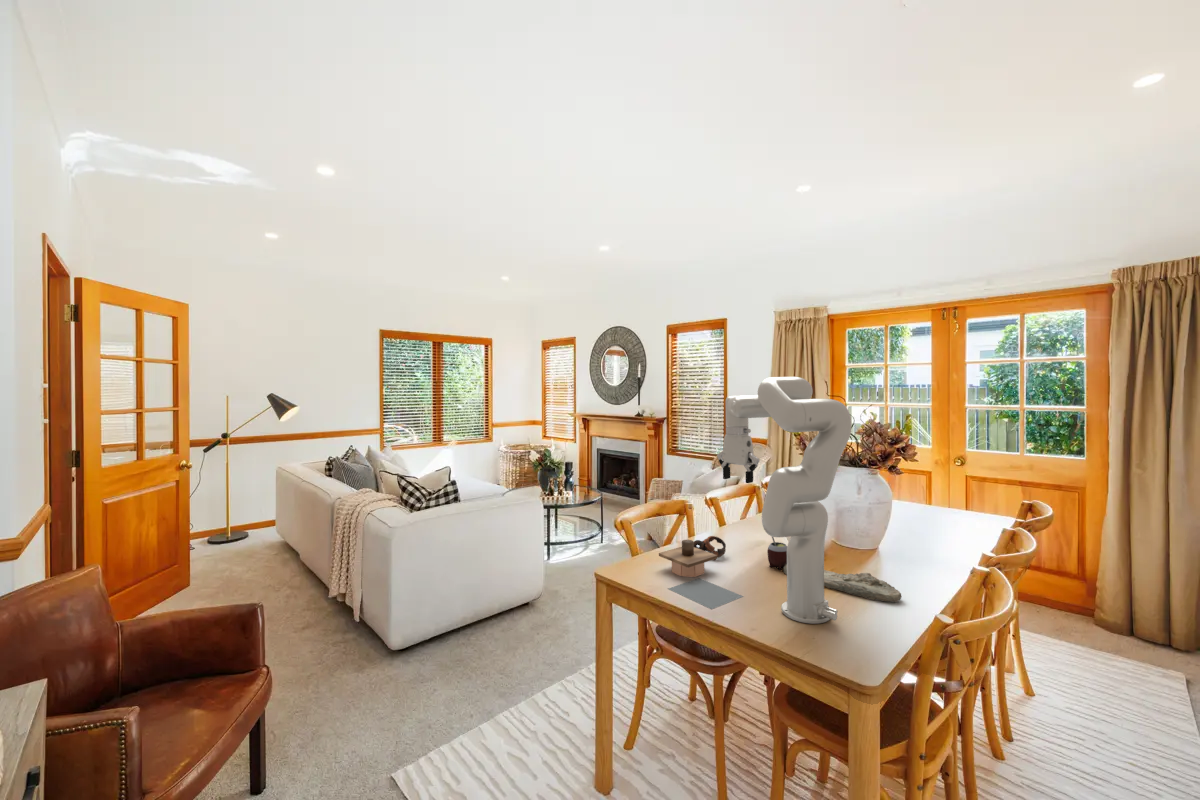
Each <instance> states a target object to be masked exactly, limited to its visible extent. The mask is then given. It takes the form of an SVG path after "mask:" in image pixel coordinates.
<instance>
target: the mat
mask: <svg viewBox="0 0 1200 800" xmlns="http://www.w3.org/2000/svg"><path fill="white" fill-rule="evenodd" d="M667 590H669V591H671V592H674V593H676V594H678V595H679V596H682V597H684V598H686V599H688V600H691V601H692V602H695V603H697V604H699V605H702V606H703V607H705V608H708V609H709V610H713V609H716V608H719V607H721V606H723V605H726V604H729V603H731V602H734V601H736V600H738V599H741V598H743V597H744V596H743V595H742V594H739V593H737V592H735V591H732V590H730V589H727V588H724V587H723V586H720V585H717V584H716V583H715V584H714V583H712V582H710V581H707V580H706V579H702V578H701V577H698V578H695V579H692V580H689V581H685V582H684V583H680V584H677V585H675V586H674V585H673V586H671V587H669V588H667Z"/></svg>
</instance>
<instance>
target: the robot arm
mask: <svg viewBox="0 0 1200 800" xmlns="http://www.w3.org/2000/svg"><path fill="white" fill-rule="evenodd" d="M813 393H814V391H813V387H812V385H811V383H810V382H809V381H808V380H807V379H805V378H803V377H799V376H770V377H767V378H765V379H764V380H762V381H761V382H760V383H759V386H758V388H757V394H755V395H754V394H753V395H752V394H750V395H749V394H748V395H747V394H746V395H729V396H727V397H726V399H725V434H724V437H723V443H722V444H723V449H722V451H721V452H719V453H717V454H716V456H717V459H718V463H719V464H720V467H721V468H722V479H723V480H728V479H731V466H730V465H736V466H744V468H745V470H746V471H745V484H752V483H753V482H754V471H755V470H756V468H757V467H758V466H759V463H760V461H761V460H760V458H759V457H757V456H756V455H755V454H754V446H753V440H752V436H751V435H749V434H750V433H751V431H752V430H751V428H749V419H752V418H753V419H756V418H759V419H760V418H761V419H763V418H770V417H771V418H772V419H773V421H774V423H776V424H777V425H778V427H780V428H781V430H783V431H785V432H788V433H807V432H808V433H809V432H818V433H817V435H816V436H814V437H813V439H811V440H810V442H809V443H808V444H807V446H806V448H805V449H804V452H803V457H802V461H801V463H800V464H798V465H796V466H795V465H793V466H784V467H780V468H777V469H775V471H774V472H773V473H772V474H771V476H770V477H769V481H768V483H767V484H768V485H767V489H766V493H765V498H764V502H763V505H762V510H761V525H762V527H763V530H764V531H765V533H766V534H767V535H768V536H770V537H771V538H772V537H773V538H789V537H790V538H789V540H788V543H787V545H786V546H787V574H786V594H787V595H786V598H787V599H786V600H787V601H784V602H783V603H781V606H780V607H781V609H780V610H781V612H782V614H783V615H785V617H787V618H788V619H790V620H792V621H796V622H799V623H805V624H813V625H815V624H816V625H817V624H823V623H824V624H825V623H826V622H829V621H830V620H832V621H835V622H836V621H837V619H838V609H835V608H832V607H830V605H829V600H827V599H825V587H824V570H825V541H826V540H825V539H826V533H827V529H828V525H829V524H828V523H829V515H828V511H827V508H826V507H825V506H824V505H823V503H822V502H820V501H824V500H825V499H827V498H828V497H829V495H830V493H831V490H832V487H833V483H834V481H835V478H836V474H837V471H838V467H839V463H840V460H841V457H842V455H843V452H844V451H845V449H846V446H847V444H848V442H849V439H850V437H851V432H852V426H853V425H852V418H851V413H850V411H849V409H848V407H847V406H846V405H845V404H844V403H842V402H841V401H839V400H836V399H833V398H832V399H831V398H812V396H813Z"/></svg>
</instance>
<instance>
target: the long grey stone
mask: <svg viewBox="0 0 1200 800" xmlns="http://www.w3.org/2000/svg"><path fill="white" fill-rule="evenodd" d="M782 571H783V573H784V575H787V564H785V566H784V567H783V568H782ZM824 586H825V587H824V588H828V589H830V588H831V590H836V591H841V592H844V593H847V594H850V595H853V596H859V597H862V598H866V599H868V600H872V601H876V600H877V601H881V602H882V601H883V602H893V603H897V602H899V601H900V600H901V599H902V596H903V595H902V593H901V592H900V591H899V590H898V589H896V588H895V586H892V585H891V584H890V583H888V582H887V581H885V580H881V579H878V578H877V577H876V576H872V574H871V573H870V572H860V573H847V574H845V573H837V572H834V571H830V570H826V569H824Z"/></svg>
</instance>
